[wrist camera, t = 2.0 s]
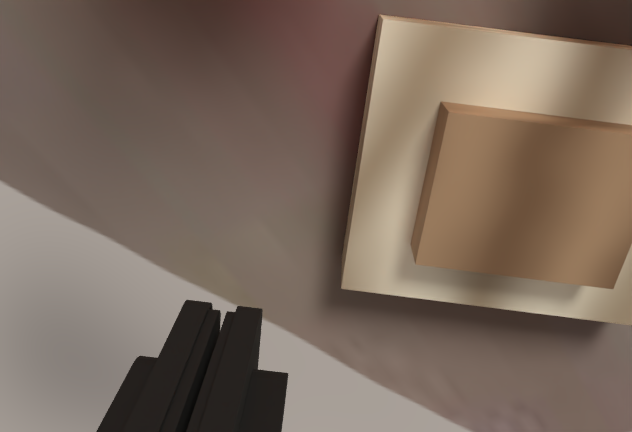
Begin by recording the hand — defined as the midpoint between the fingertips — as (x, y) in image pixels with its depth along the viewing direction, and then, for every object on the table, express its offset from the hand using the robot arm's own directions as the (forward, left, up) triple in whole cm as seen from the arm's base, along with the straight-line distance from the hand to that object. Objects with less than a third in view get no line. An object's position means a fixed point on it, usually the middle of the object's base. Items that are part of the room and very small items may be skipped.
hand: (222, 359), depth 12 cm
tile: (-11, 0, -14) cm, 18 cm away
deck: (-11, 0, -17) cm, 20 cm away
